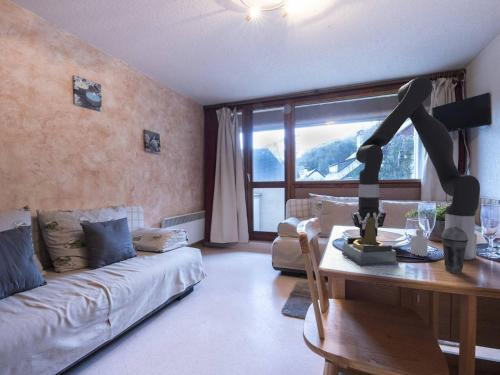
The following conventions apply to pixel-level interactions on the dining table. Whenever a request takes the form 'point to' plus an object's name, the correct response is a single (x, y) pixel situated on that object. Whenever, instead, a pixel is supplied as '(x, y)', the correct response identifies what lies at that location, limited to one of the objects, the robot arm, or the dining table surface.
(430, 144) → the robot arm
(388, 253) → the grey peg socket base
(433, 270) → the dining table surface
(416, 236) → the eye dropper bottle
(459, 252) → the beverage cup
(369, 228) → the cork
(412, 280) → the dining table surface
